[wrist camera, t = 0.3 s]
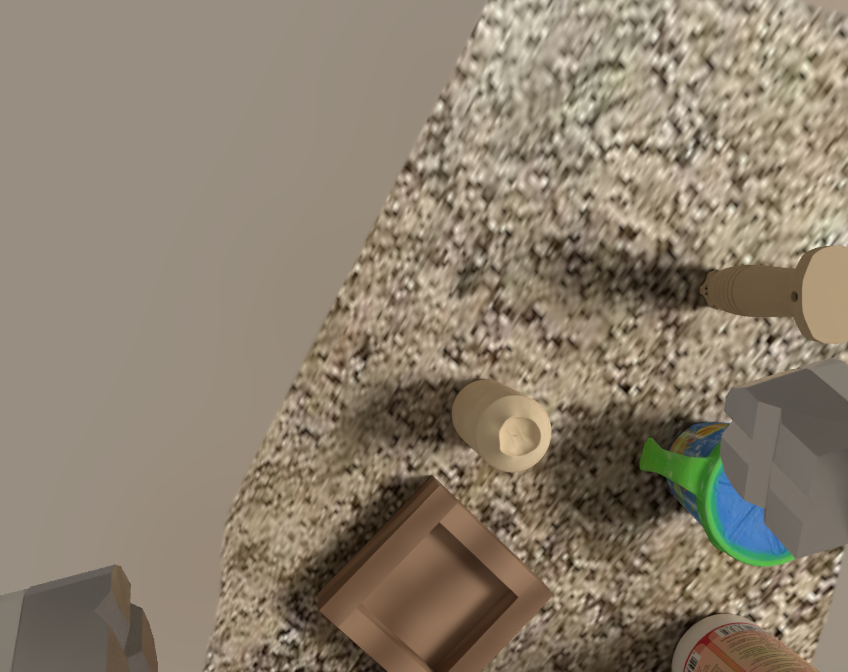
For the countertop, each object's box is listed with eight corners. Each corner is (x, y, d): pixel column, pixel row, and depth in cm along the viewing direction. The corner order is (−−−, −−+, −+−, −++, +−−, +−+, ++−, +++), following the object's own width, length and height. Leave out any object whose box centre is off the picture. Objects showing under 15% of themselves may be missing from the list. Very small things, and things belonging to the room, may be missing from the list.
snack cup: (598, 489, 68) (652, 528, 58) (647, 373, 68) (710, 391, 58) (753, 551, 71) (831, 598, 61) (801, 439, 70) (886, 467, 60)
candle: (468, 458, 65) (501, 491, 56) (439, 398, 65) (467, 421, 55) (528, 426, 66) (570, 454, 56) (499, 366, 65) (538, 384, 55)
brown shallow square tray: (540, 579, 67) (553, 594, 64) (431, 695, 67) (438, 716, 63) (432, 475, 65) (439, 485, 62) (317, 593, 64) (318, 610, 61)
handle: (689, 329, 68) (802, 346, 53) (688, 251, 67) (801, 247, 52) (742, 325, 69) (868, 341, 54) (741, 249, 68) (868, 244, 53)
